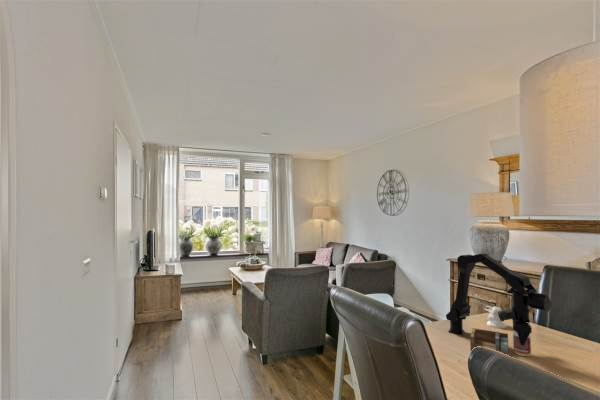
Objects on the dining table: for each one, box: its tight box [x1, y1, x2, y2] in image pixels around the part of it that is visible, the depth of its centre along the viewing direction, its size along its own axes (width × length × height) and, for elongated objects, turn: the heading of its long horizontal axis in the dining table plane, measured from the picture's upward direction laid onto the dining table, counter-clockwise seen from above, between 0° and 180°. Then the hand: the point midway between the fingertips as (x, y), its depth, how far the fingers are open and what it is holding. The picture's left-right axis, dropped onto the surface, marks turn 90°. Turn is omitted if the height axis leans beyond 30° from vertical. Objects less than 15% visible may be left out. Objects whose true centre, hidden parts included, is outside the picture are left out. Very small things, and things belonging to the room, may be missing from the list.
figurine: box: [484, 305, 507, 329], centre depth 176 cm, size 12×9×10 cm
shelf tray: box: [469, 327, 509, 355], centre depth 146 cm, size 13×14×6 cm
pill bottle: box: [512, 330, 532, 357], centre depth 139 cm, size 6×6×11 cm
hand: (521, 342), depth 139 cm, fingers closed on pill bottle, 6 cm apart
